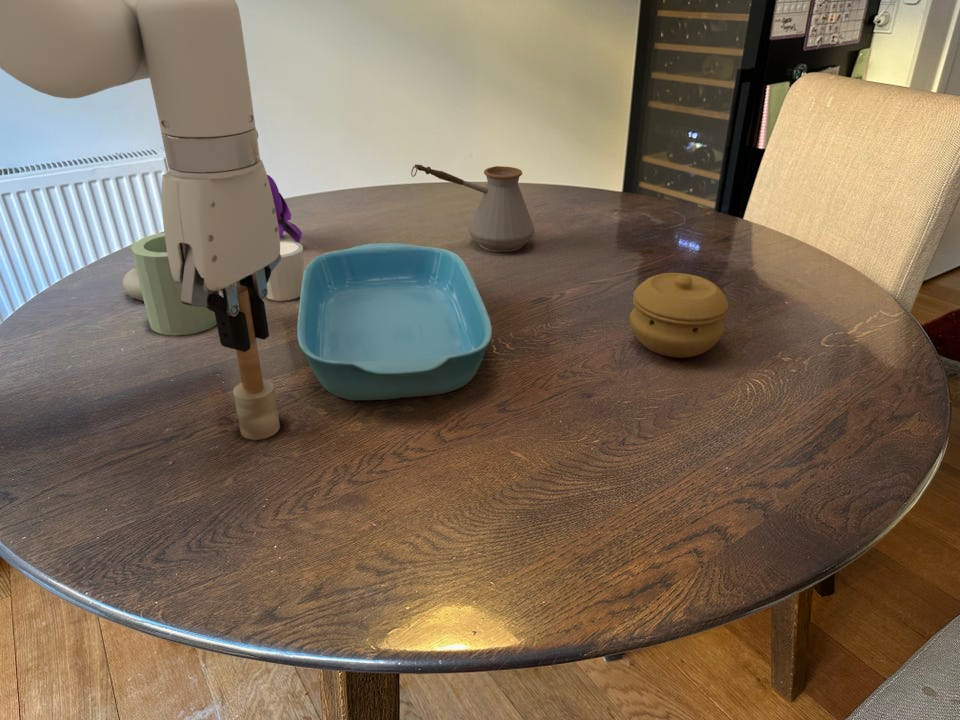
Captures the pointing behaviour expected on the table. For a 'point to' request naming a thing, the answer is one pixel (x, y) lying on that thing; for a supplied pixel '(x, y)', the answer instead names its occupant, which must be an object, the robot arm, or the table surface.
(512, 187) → the coffee pot
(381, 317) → the casserole dish
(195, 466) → the table surface
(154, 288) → the jar
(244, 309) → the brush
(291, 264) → the white cup
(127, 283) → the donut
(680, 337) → the pot
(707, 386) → the table surface
